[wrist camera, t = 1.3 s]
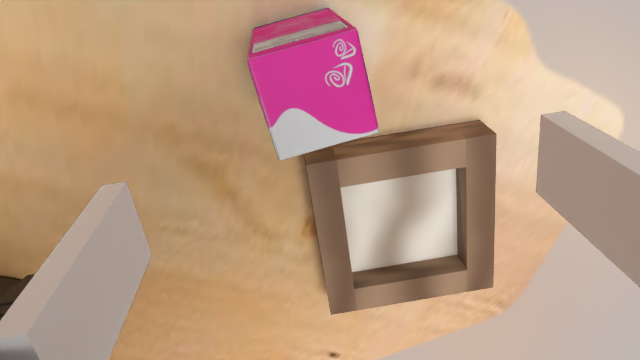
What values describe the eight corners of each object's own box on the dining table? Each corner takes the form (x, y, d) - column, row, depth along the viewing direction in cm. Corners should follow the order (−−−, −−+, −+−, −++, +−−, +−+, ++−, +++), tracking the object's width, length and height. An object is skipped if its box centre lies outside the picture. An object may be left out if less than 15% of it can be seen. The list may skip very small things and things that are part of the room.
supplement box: (350, 84, 36) (381, 137, 25) (273, 105, 36) (273, 166, 26) (332, 4, 33) (358, 27, 23) (250, 27, 33) (239, 59, 23)
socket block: (327, 290, 44) (330, 314, 41) (303, 148, 38) (305, 165, 35) (478, 265, 44) (493, 287, 41) (479, 120, 38) (496, 133, 35)
